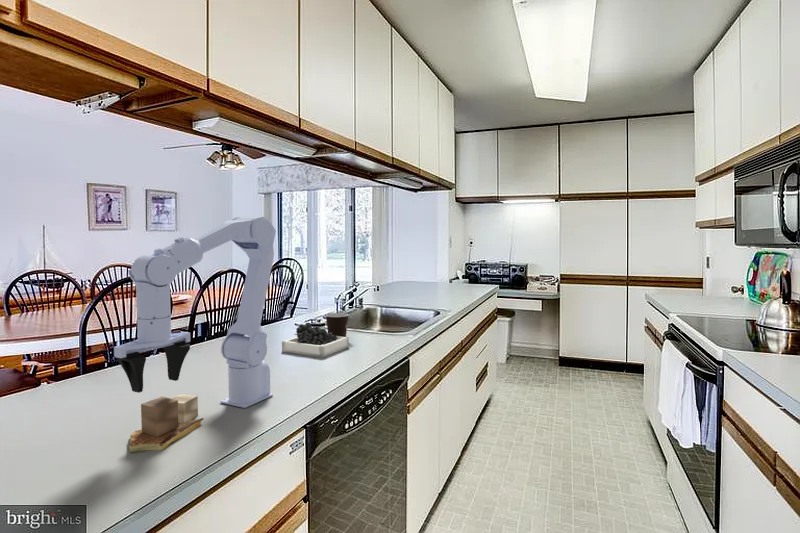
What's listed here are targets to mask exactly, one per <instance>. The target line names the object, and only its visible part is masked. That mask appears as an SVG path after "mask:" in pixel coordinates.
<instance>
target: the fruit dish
mask: <svg viewBox="0 0 800 533" xmlns="http://www.w3.org/2000/svg"><path fill="white" fill-rule="evenodd" d="M332 336H333V335H332ZM298 339H299V338H298V337H297V336H296V337H293V338H288V339H285V340H282V341H281V352H282V353H289V354H294V355H295V354H296V355H301V356H302V355H303V356H307V357H308V356H309V357H315V358H325V357H328V356H330V355H332V354H333V355H334V353H337V352H339V351H343V350H345V349H348V348H349V346H350V345H349V343H350V342H349V337H348V336H346V337H341V336H337V340H336V341H332V342H330V343H328V344H325V345H323V344H322V345H312V344H305V343H298V342H297V340H298Z"/></svg>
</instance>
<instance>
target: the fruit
mask: <svg viewBox="0 0 800 533" xmlns="http://www.w3.org/2000/svg"><path fill="white" fill-rule="evenodd" d="M294 335H295V336H296V337H298V338H299V339H298V340H297V342H298V343H305V344H312V345H322V344H323V345H325V344H328V343H330V342H332V341H336V340H337V336H332V333H328V330H326V329H325V328H321V327H320V326H319V325H318V326H317V325H316V326H313V327H312V324H310V323H305V324H302V323H301V324H299V326H298V327H297V328H296V333H294Z"/></svg>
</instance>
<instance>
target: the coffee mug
mask: <svg viewBox="0 0 800 533" xmlns="http://www.w3.org/2000/svg"><path fill="white" fill-rule="evenodd" d="M325 320H326V321H325V322H326V327H327V328H326V329H327V330H326V331H327V333H332V335H333V336H341V337H347V333H348V332H347V331H348V330H347V329H348V321H349V314H348V313H341V312H339V313H338V312H337V313H336V312H335V313H327V314H325Z"/></svg>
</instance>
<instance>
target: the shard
mask: <svg viewBox="0 0 800 533" xmlns="http://www.w3.org/2000/svg"><path fill="white" fill-rule="evenodd" d="M202 421H204V417H202V418H198V419H192V420H190V421H187V422H180V423H178V424H179V427H178V428H176V429H174V430H172V431H169V432H167V433H165V434H163V435H160V436H158V437H157V436H153V435H150V434H147V433H144V432H142V429H139V430H135V431H134V432H132V433H130V437H129V438H130V439H129V440H130V442H129V446H128V447H129V452H130V453H134V452H138V451H139V452H140V451H142V452H143V451H163V450H164V449H166V448H168V446H169V445H170V444H171V443H173V442H175V441H177V440H179V439H181V438H183V437H185V436H186V435H188V434H189V433H190V432H191V433H192V432H193V431H194V430H196V429H197V428H198V427H199V426H201V424H202Z"/></svg>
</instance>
